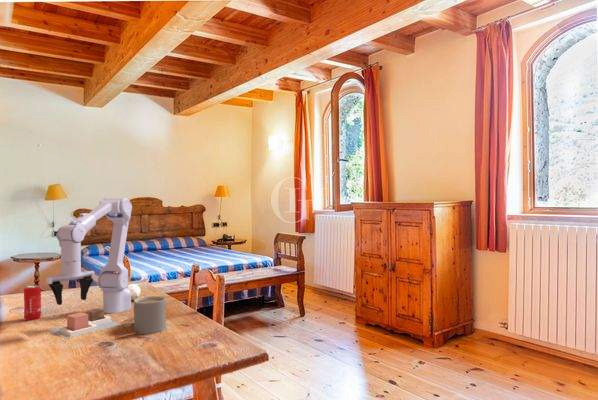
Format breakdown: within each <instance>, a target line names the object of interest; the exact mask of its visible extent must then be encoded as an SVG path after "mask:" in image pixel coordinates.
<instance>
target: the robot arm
mask: <svg viewBox="0 0 598 400" xmlns="http://www.w3.org/2000/svg"><path fill="white" fill-rule="evenodd" d="M132 210H133V205H132V203H131V201H130V199H129V198H127V197H123V198H120V197H119V198H113V197H112V198H109V197H104V198H102V199H101V200H100V201H99V204H98V205H97V206H96V207H95V208H93V209H92V210H91V211H90V212H89V213H88V212H82V213H80V214H79V216H77V218H75V219H74V220H73V219H72V220H70V223H68V224H63V225H62V226H61V225H60V227H59V228H58V230H57V233H55V236H56V237H55V238H56V239H57V241H58V243H59V244H58V246H59V247H60V265H61V267H60V268H61V270H60V271H61V272H60V274H58V275H57V274H56V275H53V276H47V277H45V278H46V279H45V281H46V284H48V286H49V288H50V289H51V292H52V293H53V295H54V298H55V301H56V305H57V306H61V305H63V288H64V284H63V283H62V282H68V281H74V280H78V281H79V287H80V299H81V300H82V301H86V300H87V295H88V293H89V290H90V287H91V285H92V284H93V281H94V278H95V277H96V275H95V274H96V273H95V271H94V270H87V271H82V253H81V249H82V247H81V245H82V241H83V240H84V239H85V236H86V234H87V233H88V232H89V231H90V230H92V229H93V228H94V227H95V226H96V224H97V221H98V220H100V219H101V218H103V217H106V218H107V219H108V220H109V221H112V223H113V228H112V233H111V239H110V246H109V251H108V258H107V264H105V265H104V266H103V267H101V269H100V273H99V275H98V277H97V287H99V288H100V291H101V292H102V309H103V310H104V314H118V313H121V312H123V311H124V312H125V311H128V310H132V301H131V293H130V291H129V289H128V288H126V286H128V285H129V269H128V268H126V266H124V265H123V263H124V256H125V250H126V243H127V237H128V235H127V234H128V230H129V223H130V220H131V216H132Z"/></svg>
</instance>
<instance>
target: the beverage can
mask: <svg viewBox="0 0 598 400" xmlns="http://www.w3.org/2000/svg"><path fill="white" fill-rule="evenodd" d="M23 314H24V315H23V316H24V317H23V318H24V320H25V321H26V322H30V321H35V320H36V321H37V320H39V319H40V318H41V316H42V288H41V285H40V284H39V285H38V284H33V285H32V284H31V285H27V286H25V287H24V289H23Z"/></svg>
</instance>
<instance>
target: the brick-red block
mask: <svg viewBox="0 0 598 400" xmlns="http://www.w3.org/2000/svg"><path fill="white" fill-rule="evenodd" d="M66 325H67V329H69V330H71V331H75V330H80V329H84V328H88V327H89V324H88V314H87V312H81V311H80V312H77V313H72V314H68V315H66Z"/></svg>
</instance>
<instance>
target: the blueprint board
mask: <svg viewBox="0 0 598 400" xmlns="http://www.w3.org/2000/svg"><path fill="white" fill-rule="evenodd" d="M88 324H89V327H88V328H84V329H80V330H75V331H71V330H69V329H67V324H66V325H63V326H62V325H61V326H57V327H53V328H49V329H47V331H48V332H51V333H53V334H54V335H57V336H59V337H61V338H64V339H70V338H74V337H78V336H83V335H86V334H90V333H94V332H97V331H100V330H102V331H103V330H105V329H110V328H114V327H116V326H122V324H121V323H120V322H119V323H118V322H117V321H115V320H112V317H111V316H108V315H105V314H104V319H101V320H96V321H92V322H91V321H89V320H88Z"/></svg>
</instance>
